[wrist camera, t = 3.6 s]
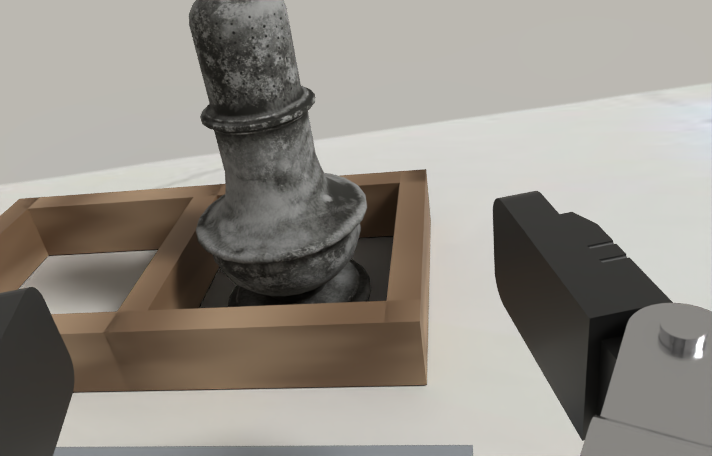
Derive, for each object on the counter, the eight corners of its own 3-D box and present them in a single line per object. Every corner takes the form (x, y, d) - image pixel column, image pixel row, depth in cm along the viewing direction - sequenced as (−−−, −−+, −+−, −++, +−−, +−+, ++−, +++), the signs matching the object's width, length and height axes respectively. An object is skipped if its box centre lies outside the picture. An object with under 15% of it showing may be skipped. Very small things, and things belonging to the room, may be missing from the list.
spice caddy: (-105, 395, 22) (-141, 341, 21) (39, 244, 30) (19, 198, 29) (426, 385, 19) (419, 321, 18) (430, 221, 28) (426, 169, 26)
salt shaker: (192, 301, 25) (82, -34, 19) (314, 235, 28) (254, -73, 22) (280, 374, 21) (176, -24, 15) (412, 287, 24) (372, -74, 18)
